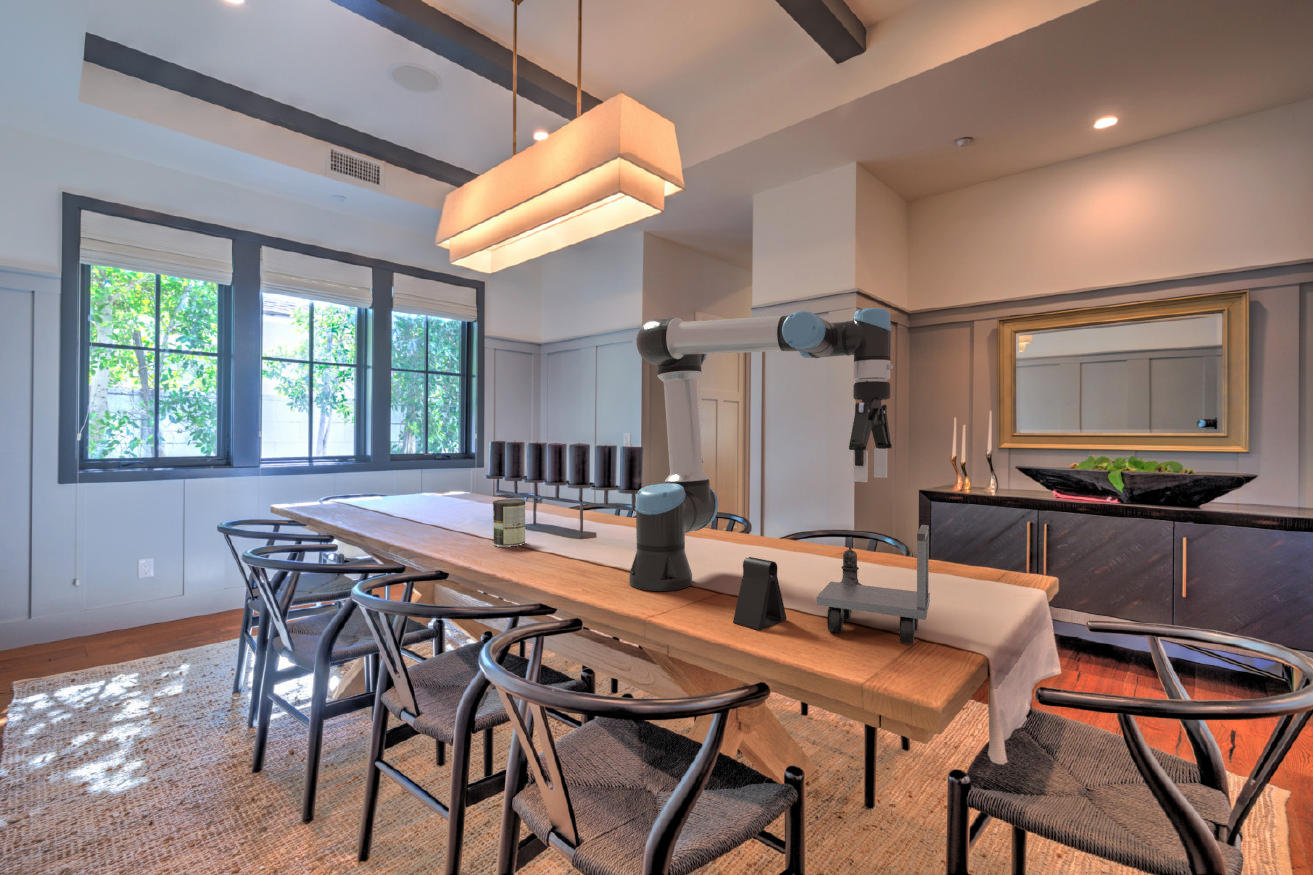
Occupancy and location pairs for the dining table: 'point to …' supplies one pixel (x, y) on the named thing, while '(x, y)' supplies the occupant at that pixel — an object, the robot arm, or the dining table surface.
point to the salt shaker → (850, 567)
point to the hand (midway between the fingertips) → (870, 479)
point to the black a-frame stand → (759, 596)
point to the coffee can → (509, 522)
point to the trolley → (882, 597)
